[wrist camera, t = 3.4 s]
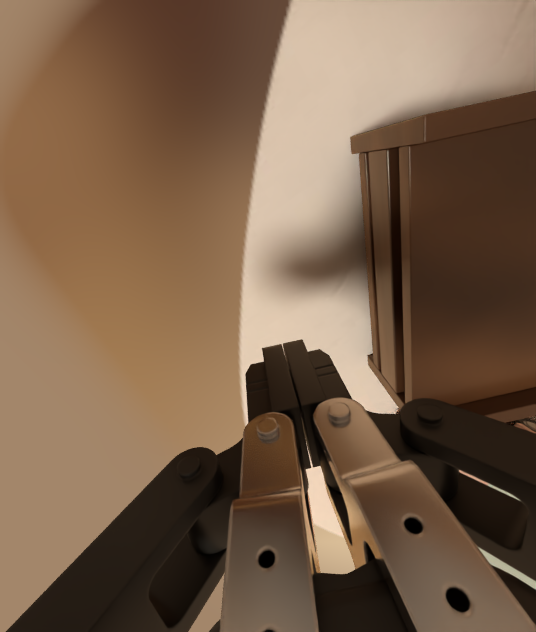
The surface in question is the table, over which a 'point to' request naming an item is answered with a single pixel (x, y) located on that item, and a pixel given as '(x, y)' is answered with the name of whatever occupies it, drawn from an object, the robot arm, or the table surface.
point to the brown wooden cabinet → (454, 256)
